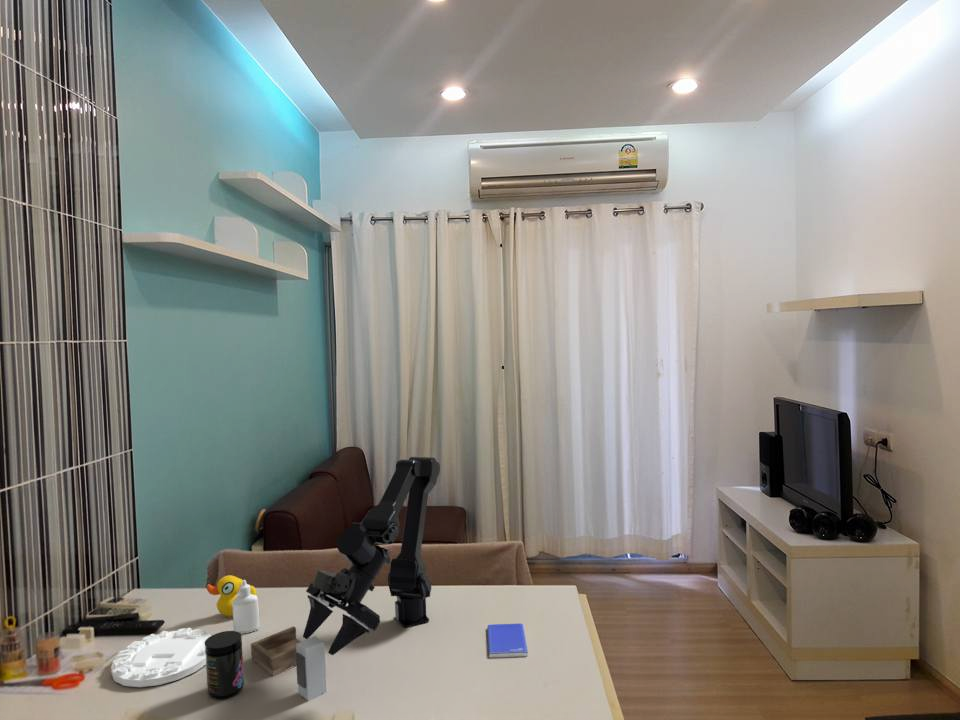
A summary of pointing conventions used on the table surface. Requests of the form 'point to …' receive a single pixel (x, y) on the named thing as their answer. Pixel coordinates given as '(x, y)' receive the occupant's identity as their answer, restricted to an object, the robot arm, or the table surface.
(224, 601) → the duckling
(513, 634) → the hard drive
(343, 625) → the robot arm
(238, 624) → the eye dropper bottle
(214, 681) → the supplement container
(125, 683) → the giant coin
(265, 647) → the wooden tray
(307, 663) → the block
